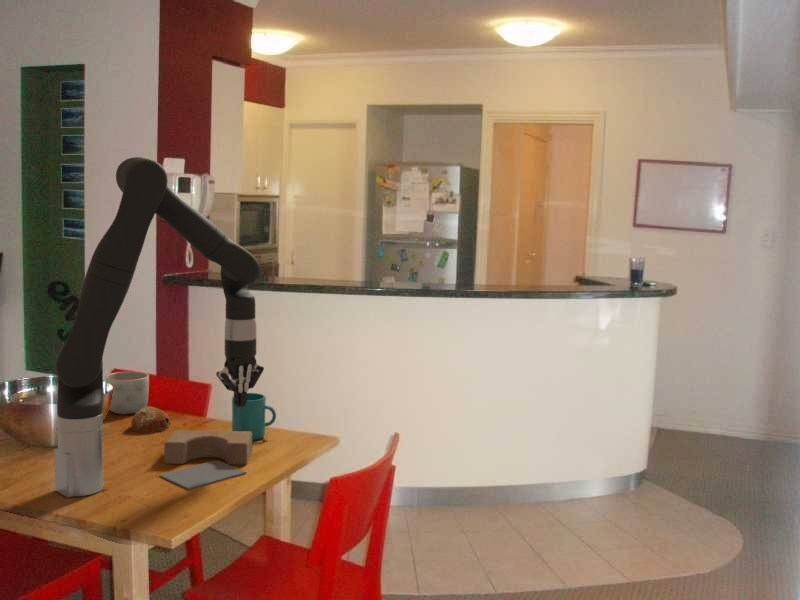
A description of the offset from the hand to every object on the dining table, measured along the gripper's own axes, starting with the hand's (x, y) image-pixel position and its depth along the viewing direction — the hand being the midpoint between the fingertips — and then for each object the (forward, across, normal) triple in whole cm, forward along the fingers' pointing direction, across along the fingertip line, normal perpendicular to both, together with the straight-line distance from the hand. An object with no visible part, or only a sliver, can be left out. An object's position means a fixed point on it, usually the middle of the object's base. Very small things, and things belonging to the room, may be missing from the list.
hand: (240, 406), depth 197 cm
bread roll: (+15, +1, +43) cm, 45 cm away
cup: (+15, +17, +17) cm, 29 cm away
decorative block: (+12, +5, +3) cm, 13 cm away
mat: (+15, -11, 0) cm, 18 cm away
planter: (+15, +5, +63) cm, 65 cm away
